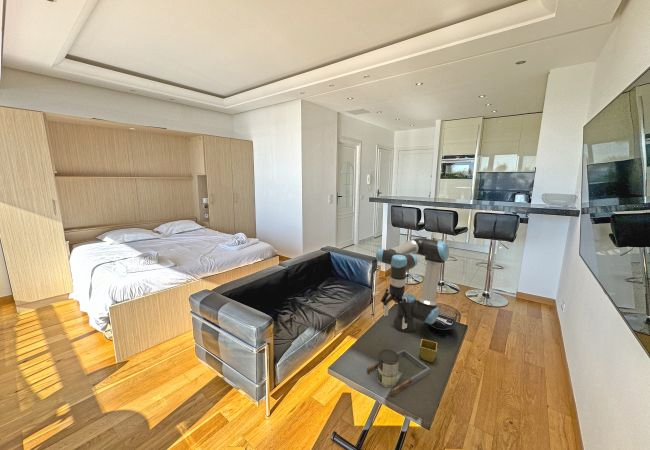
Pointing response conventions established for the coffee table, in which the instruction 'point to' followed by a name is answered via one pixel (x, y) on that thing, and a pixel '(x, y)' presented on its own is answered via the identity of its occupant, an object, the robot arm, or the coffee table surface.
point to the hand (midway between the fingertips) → (394, 321)
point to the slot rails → (396, 389)
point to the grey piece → (425, 368)
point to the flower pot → (428, 350)
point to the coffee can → (388, 367)
